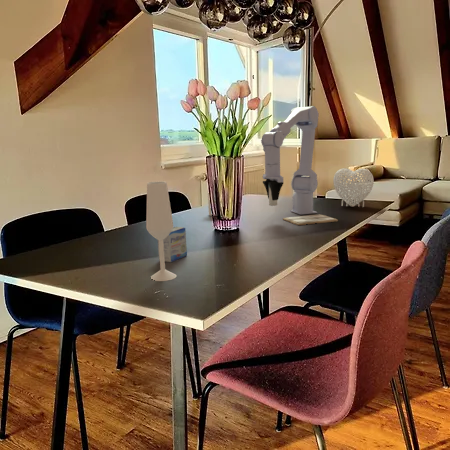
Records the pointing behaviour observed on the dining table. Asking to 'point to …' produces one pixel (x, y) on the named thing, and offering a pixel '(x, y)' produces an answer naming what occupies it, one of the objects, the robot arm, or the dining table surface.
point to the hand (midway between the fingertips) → (273, 199)
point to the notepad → (309, 219)
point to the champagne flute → (159, 222)
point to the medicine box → (175, 245)
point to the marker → (271, 202)
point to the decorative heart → (353, 185)
